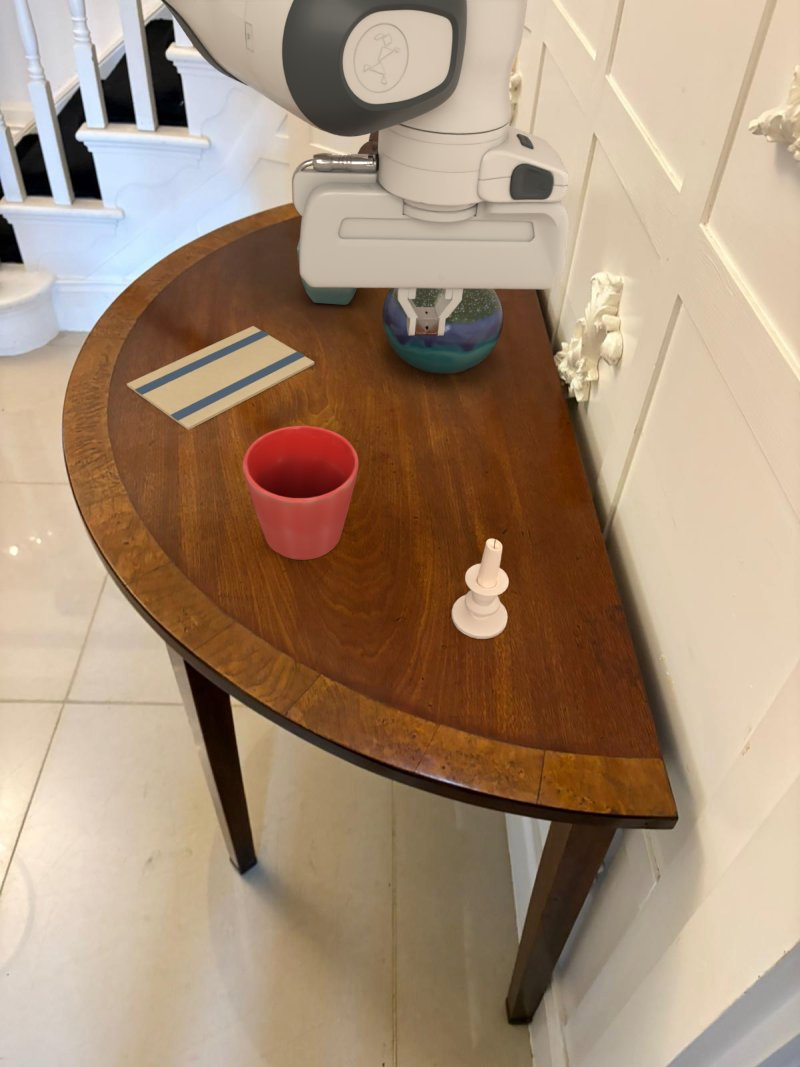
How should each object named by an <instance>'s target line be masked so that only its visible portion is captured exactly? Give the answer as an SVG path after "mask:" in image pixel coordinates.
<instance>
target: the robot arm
mask: <svg viewBox="0 0 800 1067" xmlns="http://www.w3.org/2000/svg"><path fill="white" fill-rule="evenodd" d="M160 1H161V2H162V4H164V6H165V7H166V9H167V10H168V11H169V13H170V14H171V15H172V17H173V18H174V19H175V21H176V22H177V24H178V26H179V27H180V28H181V30H182V31H183V33H184V34H185V35H186V37H187V39H188V40H189V41H190V43H191V44H192V46H193V47H194V49H195V50H196V51H197V52H198V53H199V54H200V56H201V57H202V58H203V59H204V60H205V62H207V63H208V64H209V65H210V66H211V67H212V68H214V69H215V70H216V71H218V72H219V73H221V74H222V75H223V76H226V77H227V78H230V79H232V80H234V81H236V82H238V83H240V84H243V85H245V86H248V87H250V89H253V90H254V91H256V92H257V93H258V94H260V95H261V96H263V97H265V98H267V99H268V100H269V101H271V102H273V103H274V104H276V105H277V106H279V107H280V108H282V109H283V110H285V111H287V112H289V113H291V114H292V115H293V116H295V117H297V118H298V119H300V120H302V121H303V122H305V123H307V124H308V125H310V126H311V127H313V128H316V129H317V130H320V131H321V132H322V131H323V132H326V133H328V134H331V135H334V136H337V137H346V138H347V137H348V138H354V137H361V136H366V135H370V133H373V132H376V131H379V139H378V153H377V154H358V153H351V154H332V153H329V152H321V153H320V152H318V153H314V154H312V158H310V159H307V160H304V161H303V162H301V163H299V164H298V166H297V167H296V168H295V169H294V171H293V172H292V173H293V174H292V177H291V196H292V197H291V198H292V204H293V207H294V209H295V211H296V212H297V214H298V215H299V216H300V217H301V220H300V230H299V239H300V250H299V260H298V265H299V267H298V268H299V276H300V278H301V277H302V278H303V279H304V280H305V281H306V283H307V284H308V285H309V286H311V287H326V288H357V289H391V288H396V292H397V297H398V301H399V302H400V304H401V306H402V308H403V309H404V311H405V313H406V315H407V332H408V336H423V335H437V336H439V335H444V329H445V320H446V318H448V317H449V315H450V314H451V313H452V312H453V310H454V309H455V308H456V307H457V305H458V304H459V303H460V302H461V300H462V294H463V289H494V290H543V291H544V290H550V289H552V288H553V287H554V286H555V285H556V284H557V283H558V282H559V281H560V280H561V279H562V276H563V274H564V270H565V266H566V261H567V260H566V259H567V253H568V247H569V246H568V245H569V235H570V234H569V233H570V232H569V230H570V220H569V214H568V211H567V209H566V206H565V204H564V203H563V201H562V200H563V199H564V198H565V196H566V194H567V191H568V187H569V183H570V178H569V174H568V170H567V167H566V165H565V163H564V160H563V159H562V158H561V156H560V155H559V153H558V152H557V151H556V150H555V149H554V148H553V146H552V145H551V144H550V143H549V142H548V141H547V140H546V139H544V138H542V137H540V136H537V135H534V134H532V133H529V132H526V131H524V130H522V129H519V128H516V127H514V126H511V124H510V123H511V117H512V116H511V115H512V102H511V94H510V81H511V75H512V71H513V67H514V64H515V62H516V59H517V56H518V54H519V51H520V49H521V46H522V41H523V35H524V30H525V21H526V15H527V7H528V0H160ZM309 167H312V168H309ZM376 170H377V173H376ZM416 288H442V290H443V293H444V294H443V296H442V297H441V299H440V300H439V301H438V303H437V304H436V306H435V307H416V306H415V304H414V302H413V301H412V299H415V296H416Z"/></svg>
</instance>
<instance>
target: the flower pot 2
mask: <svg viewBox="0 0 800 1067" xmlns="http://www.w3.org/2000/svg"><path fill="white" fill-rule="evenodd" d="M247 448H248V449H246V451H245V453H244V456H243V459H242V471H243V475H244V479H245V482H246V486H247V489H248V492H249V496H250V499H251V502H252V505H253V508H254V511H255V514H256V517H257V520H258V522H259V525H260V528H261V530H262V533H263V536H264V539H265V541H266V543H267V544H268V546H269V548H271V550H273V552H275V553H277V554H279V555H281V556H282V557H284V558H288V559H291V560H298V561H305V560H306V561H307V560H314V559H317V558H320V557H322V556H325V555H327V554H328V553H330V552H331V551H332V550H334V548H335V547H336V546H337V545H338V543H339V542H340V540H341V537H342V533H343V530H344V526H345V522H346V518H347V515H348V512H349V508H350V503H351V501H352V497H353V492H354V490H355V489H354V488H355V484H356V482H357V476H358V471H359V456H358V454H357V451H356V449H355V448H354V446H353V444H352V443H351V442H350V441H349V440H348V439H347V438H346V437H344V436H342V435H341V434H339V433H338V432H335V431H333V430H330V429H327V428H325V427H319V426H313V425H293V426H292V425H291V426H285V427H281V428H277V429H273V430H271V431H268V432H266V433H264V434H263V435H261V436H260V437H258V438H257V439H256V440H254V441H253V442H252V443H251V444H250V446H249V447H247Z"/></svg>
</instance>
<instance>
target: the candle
mask: <svg viewBox="0 0 800 1067" xmlns="http://www.w3.org/2000/svg"><path fill="white" fill-rule="evenodd" d="M502 553H503V544H502V543H501V541H499V540H498V539H495V538H488V539H487V540H486V541H485V545H484V550H483V553H482V557H481V562H480V563H476V564H474V565H471V566H470V567H469V568H468V569H467V571H466V572H465V576H464V579H465V584H466V586H467V587H468V588H469V590H468V592H467V593H466V594H464V595H462V596H460V597H458V599H456V600H455V601H454V603H453V604H452V609H451V620H452V623H453V625H454V626H455V627H456V629H457V630H458V631H460V633H462V634H463V635H465V636H467V637H469V638H473V639H477V640H487V639H492V638H495V637H497V636H499V635H500V634H501V633H502V632H503V631H504V630H505V628H506V627H507V624H508V619H509V618H508V612H507V609H506V607H505V606H504V604H503V603H502V602H501V601H500V600H501V599H500V597H499V595H502V594H503V593H505V592H506V590H507V589H508V588H509V583H510V582H509V581H510V580H509V577H508V573H506V572H505V570H503V569H502V568H501V567H500V566H501V560H502Z"/></svg>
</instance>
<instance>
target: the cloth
mask: <svg viewBox="0 0 800 1067" xmlns="http://www.w3.org/2000/svg"><path fill="white" fill-rule="evenodd" d="M314 365H316V364H315V361H314V360H312V359H311V358H309V357H308V356H306V355H305V354H303V353H302V352H300V351H298V350H295V349H293V347H290V346H288V345H287V344H285V343H284V342H282V341H280V340H278V339H276V338H275V337H273V336H271V335H270V334H269V333H267V332H266V331H264V330H262V329H259V328H258V327H256V326H255V325H252V326H250V327H247V328H246V329H243V330H240V331H239V332H237V333H234V334H232V335H230V336H228V337H226V338H224V339H222V340H219V341H217V342H214V343H213V344H211V345H208V346H206V347H204V348H202V349H200V350H198V351H195V352H193V353H191V354H188V355H186V356H184V357H182V358H180V359H178V360H176V361H173V362H170V363H169V364H166V365H165V366H162V367H160V368H158V369H155V370H153V371H151V372H149V373H147V374H145V375H143V376H140V377H138V378H136V379H134V380H132V381H129V382H127V383H126V387H128V388H129V389H130V390H132V391H133V392H134V393H136V394H137V395H138V396H140V397H141V398H142V399H144V400H146V401H147V403H150V404H151V405H152V406H153V407H155V408H156V409H158V410H159V411H161V412H162V413H163V414H164V415H166V416H168V417H169V418H170V419H172V420H173V421H174V422H176V423H177V424H179V425H180V426H181V427H183V428H184V429H186V430H187V431H190V430H192V429H193V428H196V427H197V426H199V425H201V424H203V423H205V422H207V421H209V420H212V419H213V418H215V417H217V416H219V415H220V414H222V413H224V412H226V411H228V410H230V409H232V408H234V407H236V406H237V405H240V404H242V403H244V402H245V401H248V400H249V399H252V398H253V397H255V396H257V395H259V394H260V393H263V392H265V391H267V390H268V389H270V388H272V387H275V386H276V385H278V384H280V383H281V382H283V381H285V380H288V379H289V378H291V377H293V376H295V375H297V374H299V373H301V372H303V371H305V370H307V369H309V368H310V367H313V366H314Z"/></svg>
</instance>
